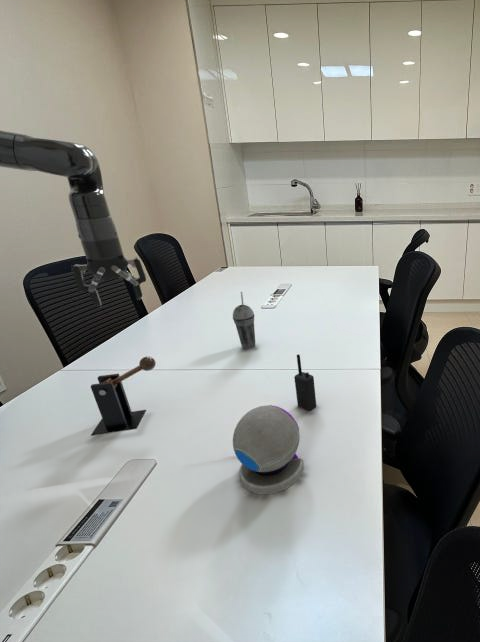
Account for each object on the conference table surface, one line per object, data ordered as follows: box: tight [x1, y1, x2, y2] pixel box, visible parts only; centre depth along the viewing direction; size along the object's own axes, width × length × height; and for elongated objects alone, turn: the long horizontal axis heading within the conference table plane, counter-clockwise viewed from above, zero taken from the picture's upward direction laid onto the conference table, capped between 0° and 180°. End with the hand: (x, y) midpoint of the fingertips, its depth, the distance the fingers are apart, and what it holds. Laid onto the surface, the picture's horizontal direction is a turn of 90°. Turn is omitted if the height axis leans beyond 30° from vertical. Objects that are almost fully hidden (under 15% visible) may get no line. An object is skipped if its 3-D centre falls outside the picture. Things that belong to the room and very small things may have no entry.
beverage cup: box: [232, 291, 256, 350], centre depth 134 cm, size 7×7×20 cm
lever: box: [102, 356, 157, 388], centre depth 92 cm, size 14×3×3 cm, turn 103°
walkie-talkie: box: [294, 354, 317, 412], centre depth 100 cm, size 5×3×15 cm
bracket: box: [90, 373, 147, 436], centre depth 94 cm, size 10×8×13 cm
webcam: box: [232, 404, 305, 495], centre depth 78 cm, size 13×13×15 cm
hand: (119, 302), depth 98 cm, fingers open, 8 cm apart
